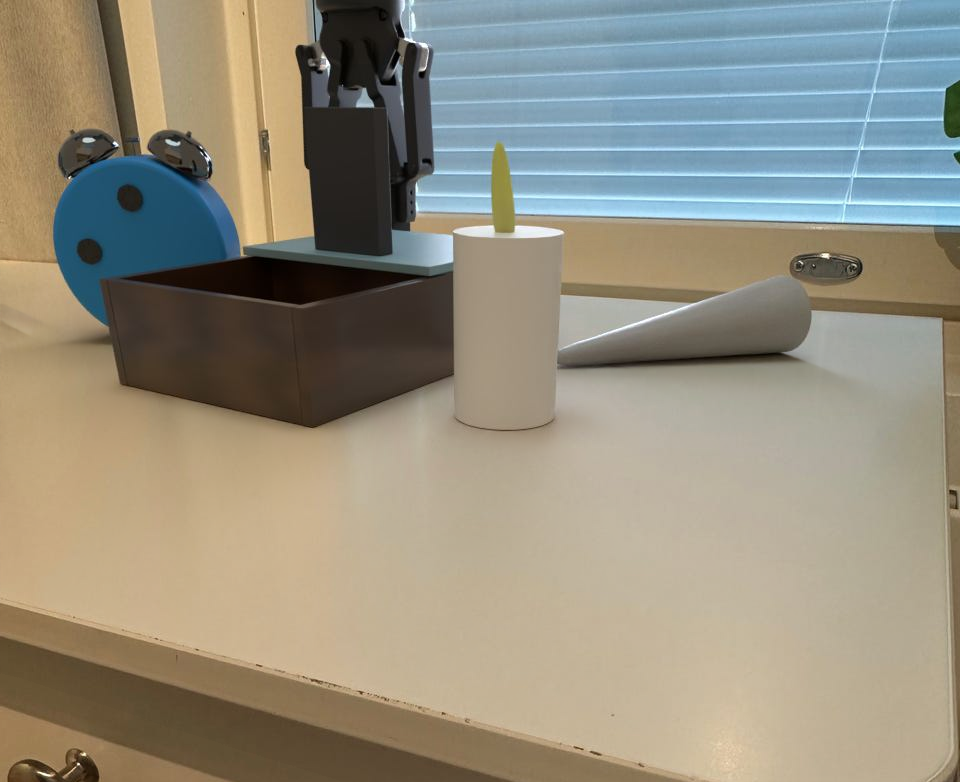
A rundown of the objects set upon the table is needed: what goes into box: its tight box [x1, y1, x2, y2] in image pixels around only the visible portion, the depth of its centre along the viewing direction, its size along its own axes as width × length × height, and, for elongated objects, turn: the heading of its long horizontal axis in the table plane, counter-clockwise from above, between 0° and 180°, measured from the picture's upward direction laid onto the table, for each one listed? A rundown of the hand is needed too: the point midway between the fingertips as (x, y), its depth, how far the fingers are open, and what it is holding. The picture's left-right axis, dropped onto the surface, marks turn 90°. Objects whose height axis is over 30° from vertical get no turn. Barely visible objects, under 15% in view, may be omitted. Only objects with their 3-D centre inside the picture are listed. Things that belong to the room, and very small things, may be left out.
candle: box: [452, 140, 565, 431], centre depth 52 cm, size 6×6×15 cm
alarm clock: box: [52, 127, 242, 328], centre depth 70 cm, size 13×6×15 cm, turn 92°
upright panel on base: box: [242, 106, 453, 276], centre depth 66 cm, size 17×15×10 cm
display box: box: [99, 255, 454, 428], centre depth 66 cm, size 18×29×7 cm, turn 148°
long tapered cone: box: [557, 274, 813, 366], centre depth 66 cm, size 6×6×19 cm
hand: (371, 256), depth 85 cm, fingers closed on cup, 6 cm apart
